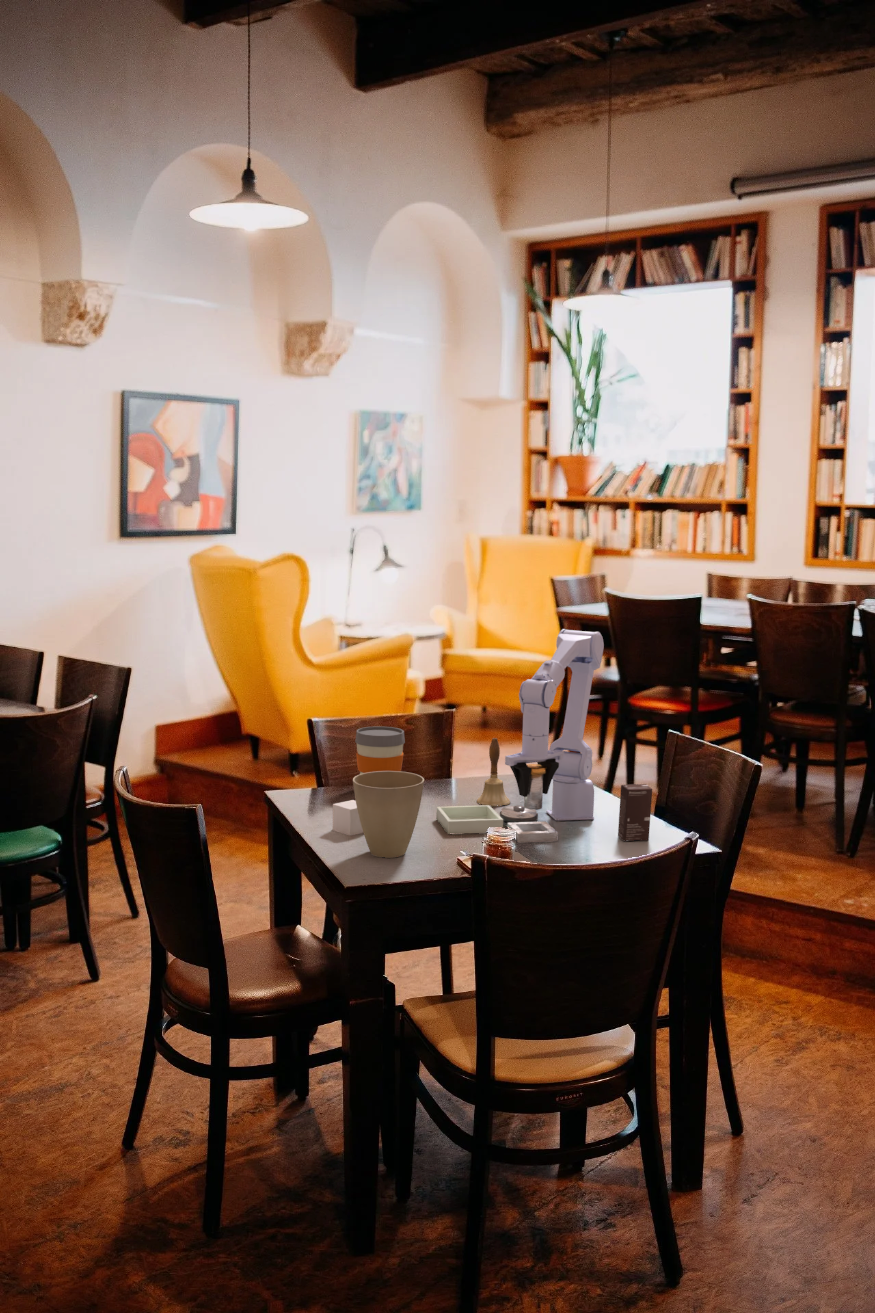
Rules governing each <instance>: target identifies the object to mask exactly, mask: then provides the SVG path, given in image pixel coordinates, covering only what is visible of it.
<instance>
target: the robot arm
mask: <svg viewBox="0 0 875 1313" xmlns="http://www.w3.org/2000/svg"><path fill="white" fill-rule="evenodd" d="M604 646H605V644H604V639H603V636H602V634H601V632H600V631H586V630H585V631H582V630H575V629H574V630H573V629H566V628H562V629H561V630H559V633H558V634H557V637H556V650H555V651H554V653H553V655H552V657H551V659H549V660H545V661H544V662H542V664H541V666H539V668H538V669H537V670H536V672H535V673H534V675H533V676H532V677H531V678H530V679H529V678H528V679H526V680H525V681H522V682H521V685H520V688H519V692H518V698H519V703H520V711H521V713H522V738H521V739H522V740H521V742H522V743H521V752H516V753H514V754H510V755H505V756H504V765H505V766H508V767H510V770H511V771H512V773H513V776H514V778H515V781H516V784H517V789H518V795H519V796H521V797H523V798H524V797H527V795H528V783H529V777H530V773H531V770H532V768H530V767H528V765H526V764H535V763H536V764H539V765H544V766H546V773H545V774H543V794H544V795H548V793H549V789H550V786H551V784H552V795H551V796H552V798H551V799H552V800H551V809H546V813H547V814H548V815H549V816H550V817H551V818H552V819H553V820H554V821H557V822H558V821H579V820H580V821H582V820H585V821H586V820H594V819H595V816H594V810H595V809H594V805H595V803H594V802H595V788H594V783H593V781H592V780H591V779H589V777H590V776H591V774H592V770H593V749H592V748H591V747H590V745H589V744H587V743H586V741H585V740H584V733H585V725H586V722H587V721H586V720H587V715H588V708H589V702H590V695H591V690H592V684H593V683H592V682H593V678H594V672H595V671H596V670H598V669H600V668H601V664H602V661H603V654H604ZM567 667H568V668H570V670H571V672H572V673H571V678H570V686H569V692H568V697H567V703H566V710H565V716H564V723H563V728H562V733H561V734H562V735H561V736H560V737H559V738H558V739H556V740H554V741H553V742H552V743H551V744H550V747H549V734H550V729H549V728H550V708H551V706H552V705H553V704H554V700H555V696H556V694H557V688H558V687H559V686H560V684H561V682H563V680H564V678H565V674H566V671H565V670H566V668H567Z"/></svg>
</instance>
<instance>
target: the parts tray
mask: <svg viewBox="0 0 875 1313" xmlns="http://www.w3.org/2000/svg"><path fill="white" fill-rule="evenodd" d="M492 807H493V806H490V805H481V804H478V805H456V806H454V805H453V806H436V808H435V810H436V812H435V814H436V815H435V816H436V818H435V820H436V819H437V820H438V821H437V820H436V821H437V822H438V823H439V822H440V824H441V825H442V826H441V825H440V824H439V825H440V826H441V828H442V827H443V828H444V829H445V830H444V829H443V828H442V829H443V830H444V831H445V833H446V832H447V833H448V834H450V833H479V834H486V833H485V832H486V831H487V829H488V828H489V827H503V828H504V825H503V819H502V818H501V817H500V814H499V813H498V812H497V811H496V810H495V809H494V808H492ZM447 833H446V834H447ZM448 834H447V835H448Z"/></svg>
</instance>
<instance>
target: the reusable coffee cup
mask: <svg viewBox="0 0 875 1313" xmlns="http://www.w3.org/2000/svg"><path fill="white" fill-rule="evenodd" d="M405 740H406V739H405V730H403V729H401V728H398V727H393V726H366V727H361V728H358V729H356V733H355V740H354V741H355V743H356V750H357V751H356V752H355V755H356V756H355V757H356V763H357V764H356V765H357V770H358V771H359V774H363V773H368V772H376V771H400V772H402V767H403V761H404V756H405V755H404V752H403V750H404V744H405V743H406V741H405Z"/></svg>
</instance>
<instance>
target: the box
mask: <svg viewBox="0 0 875 1313" xmlns="http://www.w3.org/2000/svg"><path fill="white" fill-rule="evenodd" d="M619 797H620V798H619V799H620V800H619V813H618V829H617V830H618V831H617V837H618V838H619V839H620V840H621V841H623V842H634V840H640V841H649V839H650V825H651V814H652V813H651V812H652V800H653V799H652V798H653V788H652V787H650V786H649V785H648V784H646V783H641V784H638V783H637V784H636V783H635V784H634V783H631V784H620V796H619Z"/></svg>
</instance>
